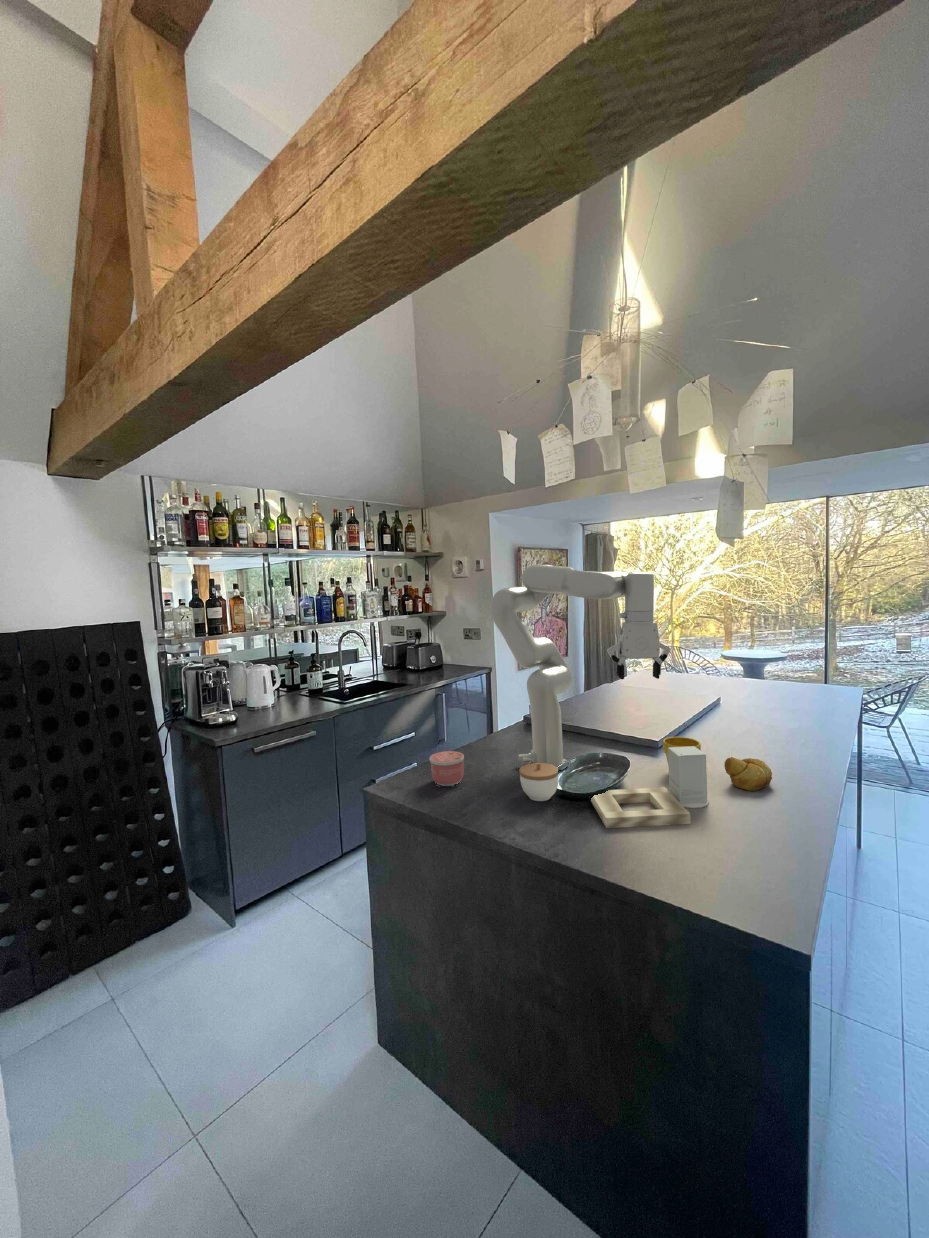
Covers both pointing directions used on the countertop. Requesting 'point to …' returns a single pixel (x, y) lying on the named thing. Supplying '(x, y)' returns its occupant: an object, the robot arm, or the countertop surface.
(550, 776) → the lidded jar
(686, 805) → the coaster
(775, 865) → the countertop surface
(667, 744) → the plant pot
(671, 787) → the supplement box
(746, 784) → the bread roll
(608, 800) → the board
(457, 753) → the container
